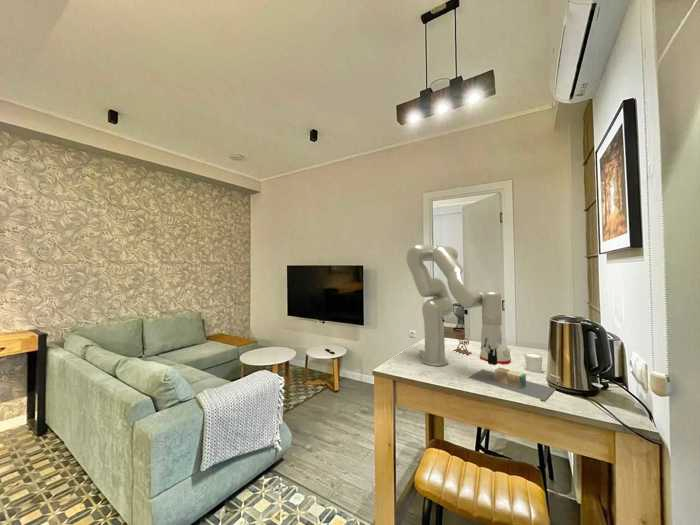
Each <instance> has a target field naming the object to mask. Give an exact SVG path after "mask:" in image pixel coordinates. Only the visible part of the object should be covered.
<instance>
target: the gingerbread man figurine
mask: <svg viewBox="0 0 700 525" xmlns="http://www.w3.org/2000/svg"><path fill="white" fill-rule="evenodd" d="M454 335H455V338H456V339H457V340H458V341H459V344H458V346H457V347H456V349H453V352H454V351H456V352H455V353H457V352H459V353H458V354H460V353H462V354H461V355H464V354H466V355H465V356H470V355H469V354H471V355H473V354H472V352H471V351H469V350H468V348H467V346H468V345H469V344H470V341H469V339H467V338H466V333H465V331H464V330H460V331H459V332H456V333H455V334H454ZM464 339H465V340H464ZM460 345H461V347H460Z"/></svg>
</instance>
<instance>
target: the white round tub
mask: <svg viewBox="0 0 700 525" xmlns="http://www.w3.org/2000/svg"><path fill="white" fill-rule="evenodd" d="M524 360H525V368H526V371H527V372H533V373H536V374H540V373H542V366H543V356H542V355H541V354H537V353H529V352H528V353H524Z"/></svg>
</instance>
